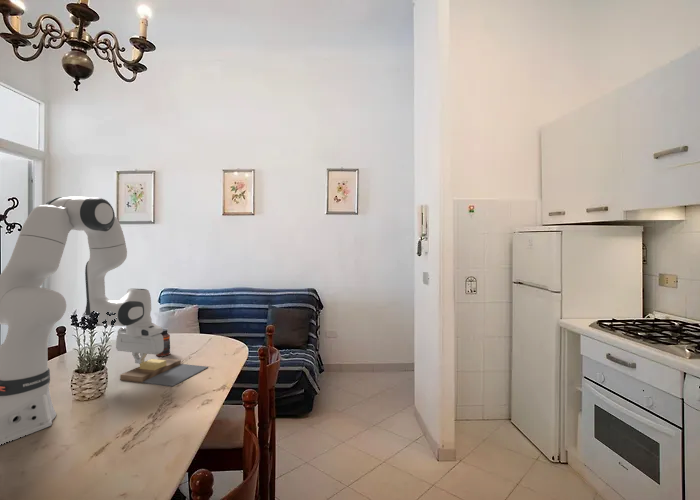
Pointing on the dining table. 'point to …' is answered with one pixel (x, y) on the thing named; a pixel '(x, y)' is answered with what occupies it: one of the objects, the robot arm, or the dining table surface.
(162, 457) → the dining table surface
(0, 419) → the robot arm
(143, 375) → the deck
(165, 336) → the supplement bottle
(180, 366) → the mat
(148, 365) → the pale yellow flat block
